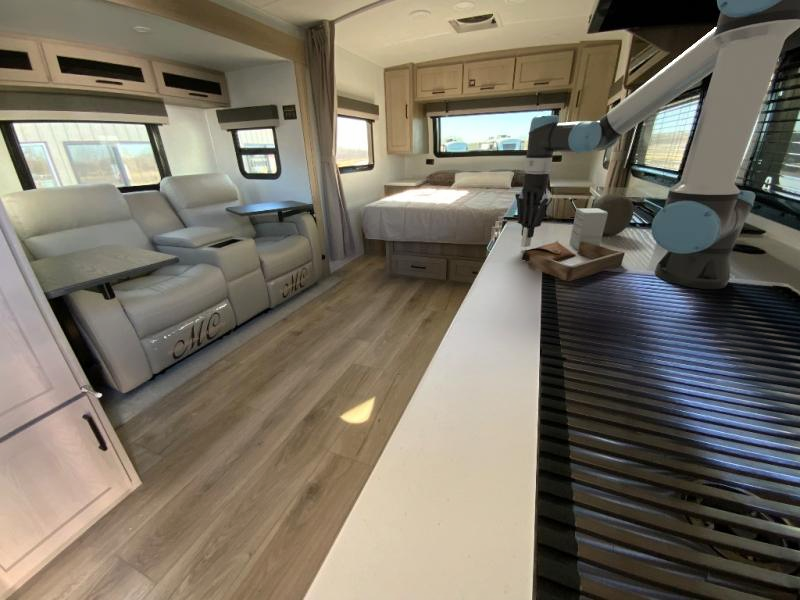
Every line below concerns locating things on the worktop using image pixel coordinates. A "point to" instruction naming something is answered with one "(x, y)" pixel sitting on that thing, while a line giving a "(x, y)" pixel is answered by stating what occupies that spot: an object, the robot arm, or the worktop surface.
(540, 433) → the worktop surface
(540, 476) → the worktop surface
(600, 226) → the supplement box
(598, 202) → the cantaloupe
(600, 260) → the box
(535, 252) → the sunglasses case
